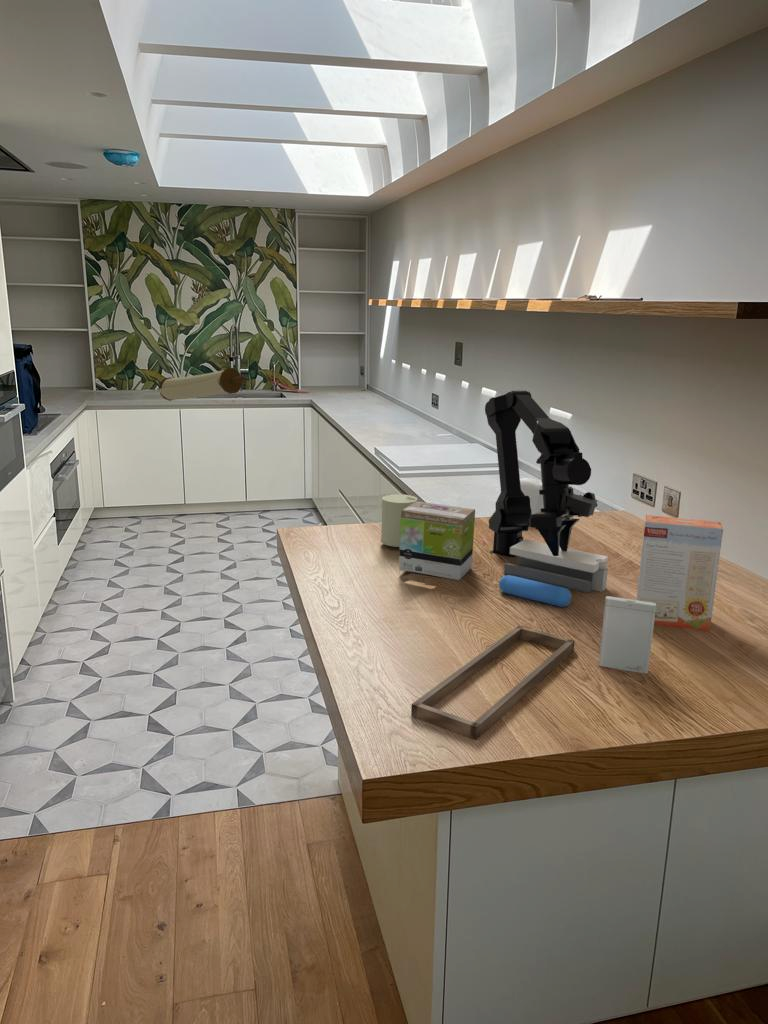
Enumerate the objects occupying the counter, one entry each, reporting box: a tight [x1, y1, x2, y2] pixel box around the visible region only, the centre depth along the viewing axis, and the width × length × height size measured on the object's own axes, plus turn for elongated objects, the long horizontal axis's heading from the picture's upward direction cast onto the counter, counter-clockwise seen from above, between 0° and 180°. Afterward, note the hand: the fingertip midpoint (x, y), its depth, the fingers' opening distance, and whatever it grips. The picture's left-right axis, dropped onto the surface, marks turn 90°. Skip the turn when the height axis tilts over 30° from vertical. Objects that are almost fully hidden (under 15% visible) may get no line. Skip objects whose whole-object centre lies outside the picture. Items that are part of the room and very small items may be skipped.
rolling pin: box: [157, 367, 247, 402], centre depth 161 cm, size 32×6×5 cm
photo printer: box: [520, 477, 544, 514], centre depth 224 cm, size 10×4×12 cm, turn 39°
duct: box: [503, 556, 609, 594], centre depth 177 cm, size 22×8×5 cm, turn 55°
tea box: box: [398, 500, 476, 582], centre depth 181 cm, size 15×10×15 cm, turn 68°
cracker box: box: [636, 514, 724, 631], centre depth 153 cm, size 14×6×21 cm, turn 71°
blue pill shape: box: [498, 574, 572, 608], centre depth 166 cm, size 16×4×4 cm, turn 55°
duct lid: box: [510, 539, 609, 572], centre depth 176 cm, size 21×8×2 cm, turn 54°
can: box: [380, 493, 418, 548], centre depth 202 cm, size 9×9×12 cm
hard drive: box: [598, 595, 656, 674], centre depth 134 cm, size 2×8×12 cm, turn 69°
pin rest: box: [410, 625, 576, 740], centre depth 130 cm, size 11×37×2 cm, turn 145°
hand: (560, 553), depth 175 cm, fingers open, 5 cm apart
